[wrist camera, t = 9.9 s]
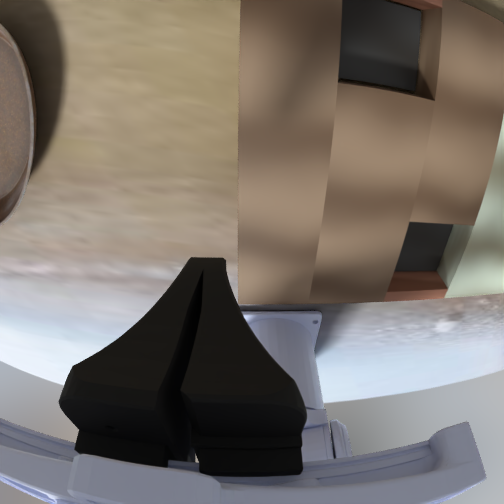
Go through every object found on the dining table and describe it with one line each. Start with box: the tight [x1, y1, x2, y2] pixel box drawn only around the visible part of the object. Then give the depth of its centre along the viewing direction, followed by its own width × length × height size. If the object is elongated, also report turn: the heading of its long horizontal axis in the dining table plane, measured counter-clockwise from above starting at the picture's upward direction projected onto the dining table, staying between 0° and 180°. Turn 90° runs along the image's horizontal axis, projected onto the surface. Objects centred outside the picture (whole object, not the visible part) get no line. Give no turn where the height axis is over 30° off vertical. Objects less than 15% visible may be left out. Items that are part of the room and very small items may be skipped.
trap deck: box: [238, 0, 504, 304], centre depth 18 cm, size 22×28×2 cm
